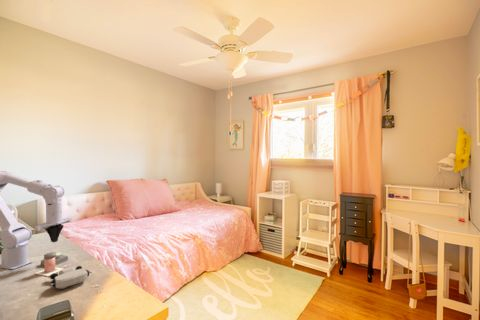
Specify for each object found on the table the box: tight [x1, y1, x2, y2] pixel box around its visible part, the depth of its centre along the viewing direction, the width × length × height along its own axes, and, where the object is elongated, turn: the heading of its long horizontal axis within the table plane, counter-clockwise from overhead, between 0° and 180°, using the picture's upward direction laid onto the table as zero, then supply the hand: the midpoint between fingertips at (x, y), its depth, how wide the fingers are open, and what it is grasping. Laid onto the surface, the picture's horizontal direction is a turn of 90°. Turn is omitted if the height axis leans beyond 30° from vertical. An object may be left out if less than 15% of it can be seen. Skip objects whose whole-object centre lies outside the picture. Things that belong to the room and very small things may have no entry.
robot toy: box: [48, 265, 93, 290], centre depth 89 cm, size 12×4×15 cm
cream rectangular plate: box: [34, 266, 64, 277], centre depth 98 cm, size 8×6×1 cm
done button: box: [54, 251, 62, 259], centre depth 106 cm, size 5×5×3 cm
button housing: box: [40, 254, 69, 266], centre depth 106 cm, size 7×7×2 cm
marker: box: [43, 251, 56, 273], centre depth 98 cm, size 4×4×7 cm
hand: (54, 241), depth 106 cm, fingers closed
